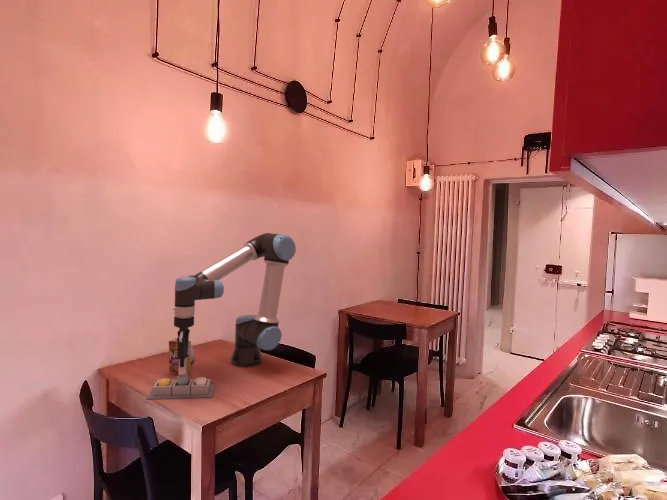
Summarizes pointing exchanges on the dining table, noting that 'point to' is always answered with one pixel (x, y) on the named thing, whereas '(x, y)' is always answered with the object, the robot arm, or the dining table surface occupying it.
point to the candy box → (173, 357)
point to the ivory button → (200, 381)
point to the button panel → (181, 390)
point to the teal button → (182, 380)
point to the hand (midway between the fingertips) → (182, 373)
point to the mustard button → (164, 382)
